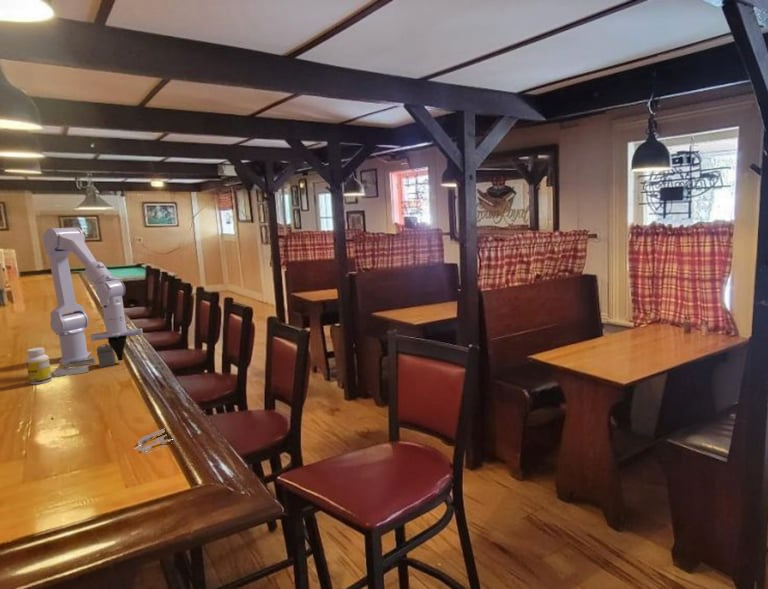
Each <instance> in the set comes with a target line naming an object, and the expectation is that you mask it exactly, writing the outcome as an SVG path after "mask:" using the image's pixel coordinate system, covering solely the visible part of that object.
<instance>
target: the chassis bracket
mask: <svg viewBox="0 0 768 589" xmlns="http://www.w3.org/2000/svg"><path fill="white" fill-rule="evenodd" d="M93 363H94V364H96V357H87V358H85V359H77V360H70V361H63V362H60V364H59V365H58V366H57V368H55V370H54V371H53V377H54V378H57V377H59V378H60V377H65V376H71V375H72V376H73V375H78V374H87V373H90V371H89V370H90V365H94V364H93ZM86 364H87V365H86ZM86 372H87V373H86Z"/></svg>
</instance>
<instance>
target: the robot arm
mask: <svg viewBox="0 0 768 589" xmlns="http://www.w3.org/2000/svg"><path fill="white" fill-rule="evenodd" d="M42 239H43V244H44V250H45V254H47V256H48V260H49V264H50V270H51V276H52V280H53V286H54V292H55V297H56V301H57V302H56V303H57V306H55V308H54V309H53V310H51V311H50V313H49V314H50V322H49V323H50V324H49V325H50V329H51V331H53V333H55V334H56V335H57V336H58V339H59V344H60V345H59V346H60V351H61V352H60V353H61V358H60V359H59V361H58V363H62V362H63V361H70V360H77V359H85V358H89V356H90V354H91V353H92V351H88V347H87V346H88V345H87V344H88V343H87V338H86V335H85V331H86V330H87V329H86V328H87V327H88V325H89V317H88V315H87V314H86V311H85V307H84V306H82V305H81V304H79V303H77V302H76V294H75V290H74V284H73V279H72V274H71V273H72V272H71V269H70V262H69V256H70V254H71V253H72V254H73V255H74V256H75V257H76V258H77V259H78V260H79V261H80V262H81V263H82V264H83V265H84V267H85V270H84V271H85V275H86V276H87V277H88V278H89V280H90V281H91V282H92V283H93V285H94V286H95V288H96V290H95V293H96V295H97V298H98V299H99V302H100V303H99V304H100V305H101V306H102V310H103V318H104V325H105V331H103V332H98V333H92V334H90V340H91V342H96V341H103V340H108V341H107V342H108V345H111V347H112V348H113V350H114V354H115V356H116V357H117V361H123V360H124V349H125V345H126V342H127V339H128V337H135V336H143V327H142V328H130V329H129V328H128V329H127V324H126V316H125V308H124V301H123V296H125V294H126V285H125V283H124V282H123V280H122V279H120V278H117V276H113V274H112V273H111V272H110V270H109V269H108V268H107V267H106V266H105V264H104V263H103V262H101V261H97V260H96V259H95V258H96V257H94V255H93V254H92V252H91V251H90V249H89V247H88V245H87V244H86V236H85V233H84V232H83V230H82V229H81V228H79V227H78V226H73V227H60V228H59V227H57V228H54V227H48V228H47V229H46V230H45V231H44V234H43V235H42Z"/></svg>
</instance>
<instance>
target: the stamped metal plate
mask: <svg viewBox="0 0 768 589" xmlns="http://www.w3.org/2000/svg"><path fill="white" fill-rule="evenodd" d="M165 428H166V427H165ZM165 428H162V429H160V430H157V431H154V432H151V433H149V434H147V435H144V436H142V437H141V438H140V439H139V440H137V446H136V447H135V448H134V449H135V450H137V451H139V452H141V453H143V454H145V455H148V454H151V453H154V452H157V451H159V450H161V449H163V448H166V447H167V445H166V444H165V442H167V443H169V442H170V441H171V440H173V439H164V437H165V436H167V434H165V435H162V436H160V437H158V438H155V439H154V442H153V443H150V444H147V443H149V442H150V441H152V440H151V439H152V438H153V437H154V436H157V435H159V434H162V433H164V432H165V430H164V429H165ZM159 440H160V441H159ZM157 444H160V448H157V449H155V450H152V451H149V450H151V449H152V446H155V445H157Z"/></svg>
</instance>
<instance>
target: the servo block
mask: <svg viewBox="0 0 768 589" xmlns="http://www.w3.org/2000/svg"><path fill="white" fill-rule="evenodd" d="M96 356H97V358H98V364H99V368H106V367H112V366H115V364H116V363H117V361H116V354H115V351H114V350H113V348H112V347H111V345H110V344H107V343H104V344H100V345H99V346H97V348H96Z"/></svg>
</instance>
